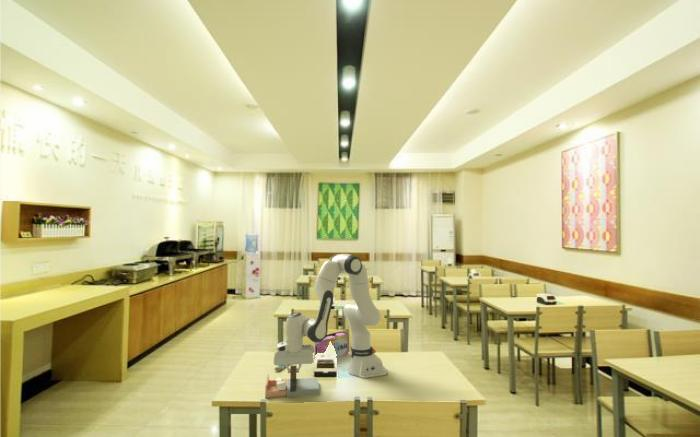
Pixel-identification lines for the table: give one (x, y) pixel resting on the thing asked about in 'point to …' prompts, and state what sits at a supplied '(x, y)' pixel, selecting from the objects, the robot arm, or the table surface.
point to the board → (304, 387)
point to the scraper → (293, 378)
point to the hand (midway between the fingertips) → (293, 372)
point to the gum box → (334, 343)
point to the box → (274, 389)
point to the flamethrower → (280, 367)
